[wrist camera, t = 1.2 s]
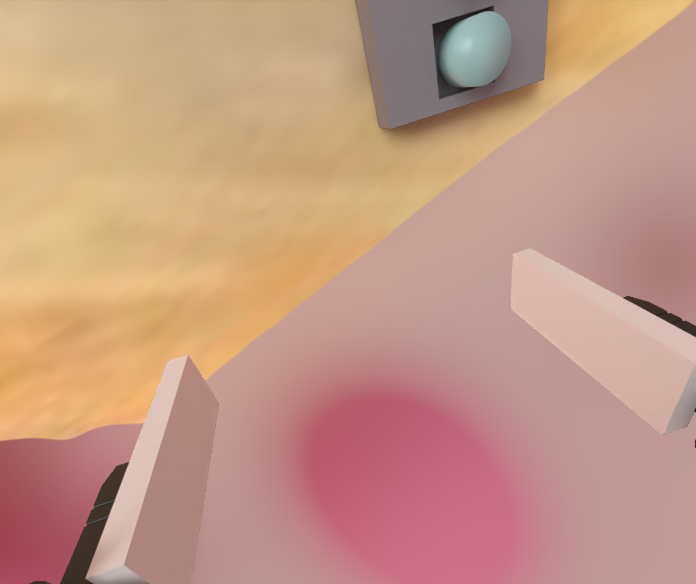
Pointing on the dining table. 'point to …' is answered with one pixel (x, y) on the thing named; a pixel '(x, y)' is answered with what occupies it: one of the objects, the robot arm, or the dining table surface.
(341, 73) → the dining table surface
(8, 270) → the dining table surface
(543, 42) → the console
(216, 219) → the dining table surface
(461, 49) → the button teal
